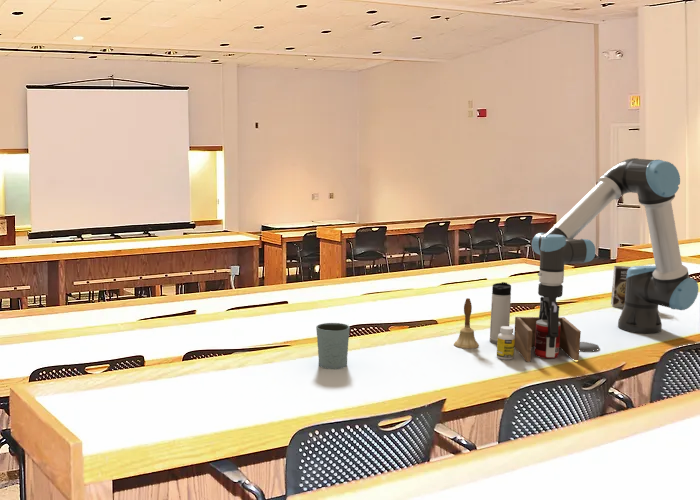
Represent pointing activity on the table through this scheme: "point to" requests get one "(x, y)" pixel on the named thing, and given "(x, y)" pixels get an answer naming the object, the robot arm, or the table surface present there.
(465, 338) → the hand bell
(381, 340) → the table surface
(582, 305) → the table surface
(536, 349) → the canned food
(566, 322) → the walnut u-shaped bracket
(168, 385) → the table surface
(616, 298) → the coffee box
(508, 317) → the travel mug
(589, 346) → the slate coaster
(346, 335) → the grey-green cup
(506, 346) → the supplement bottle
